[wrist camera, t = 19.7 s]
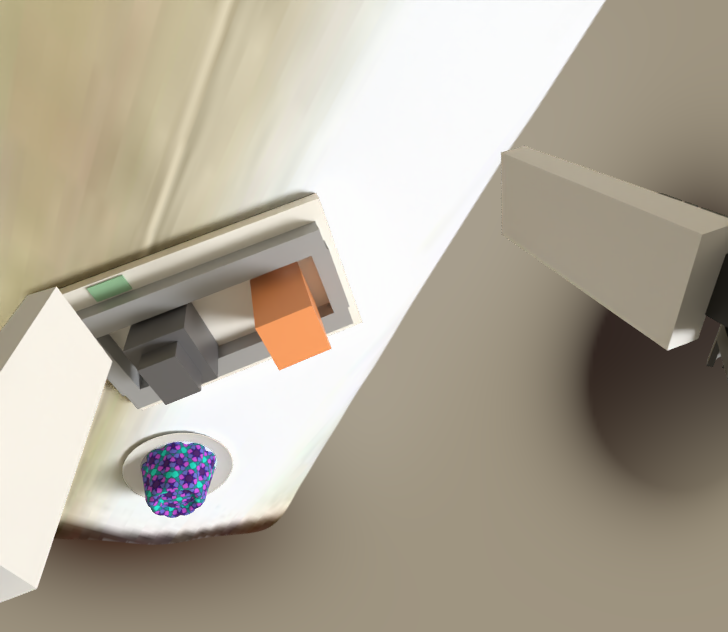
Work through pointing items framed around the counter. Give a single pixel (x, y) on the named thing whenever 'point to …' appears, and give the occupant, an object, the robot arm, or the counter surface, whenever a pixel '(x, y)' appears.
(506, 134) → the counter surface
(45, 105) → the counter surface
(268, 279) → the block
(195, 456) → the pudding
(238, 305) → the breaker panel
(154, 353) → the handle
